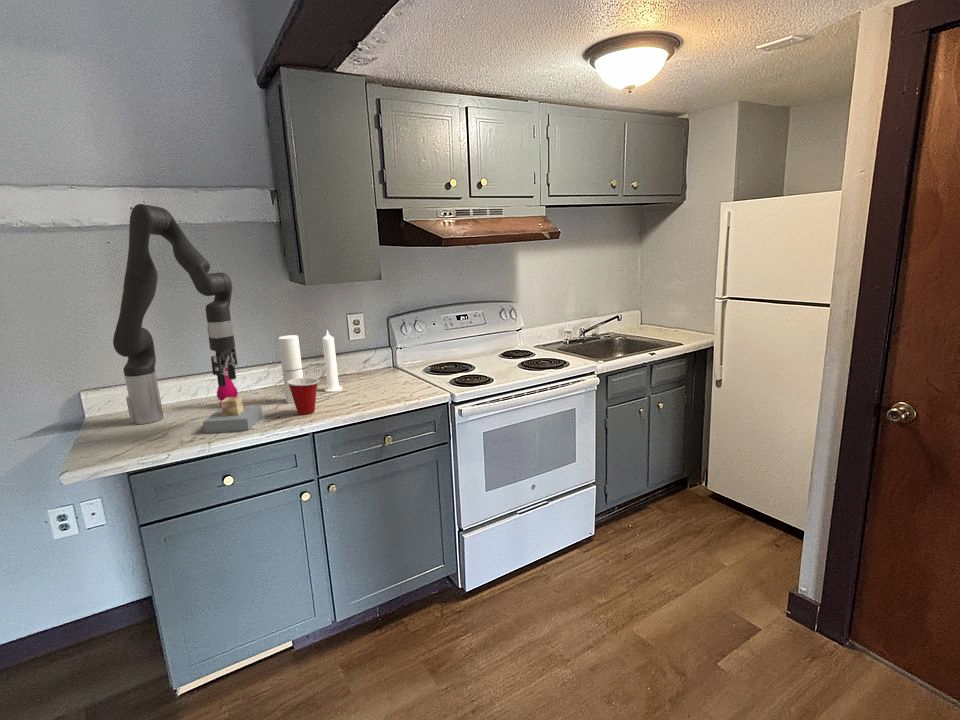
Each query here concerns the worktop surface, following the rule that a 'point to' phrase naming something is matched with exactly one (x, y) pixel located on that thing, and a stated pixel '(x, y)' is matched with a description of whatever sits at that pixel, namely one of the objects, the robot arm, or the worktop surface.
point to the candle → (330, 363)
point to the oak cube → (232, 406)
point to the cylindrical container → (290, 362)
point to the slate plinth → (233, 420)
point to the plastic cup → (304, 394)
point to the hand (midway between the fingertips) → (227, 382)
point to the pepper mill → (226, 388)
